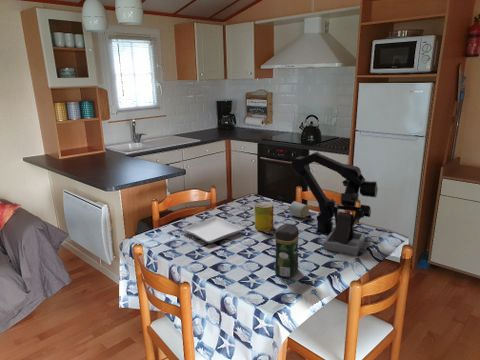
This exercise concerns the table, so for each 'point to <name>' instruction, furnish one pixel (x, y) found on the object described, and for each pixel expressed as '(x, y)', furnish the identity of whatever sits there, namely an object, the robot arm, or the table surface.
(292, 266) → the coffee jar
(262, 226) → the yellow green jar
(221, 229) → the salad plate
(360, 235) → the box
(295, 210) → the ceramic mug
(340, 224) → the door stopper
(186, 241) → the table surface
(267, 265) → the table surface
